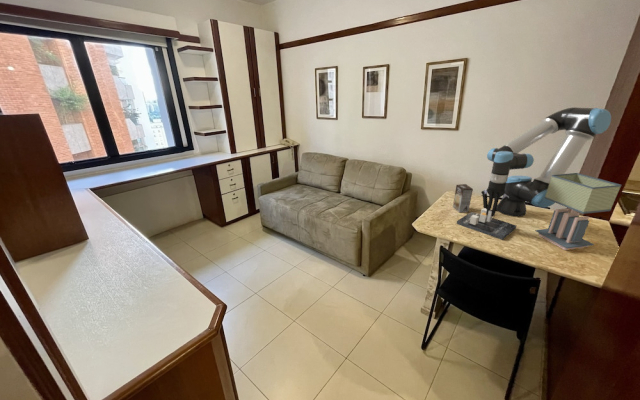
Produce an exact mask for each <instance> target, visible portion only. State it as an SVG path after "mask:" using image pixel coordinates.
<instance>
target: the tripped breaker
mask: <svg viewBox="0 0 640 400" xmlns="http://www.w3.org/2000/svg"><path fill="white" fill-rule="evenodd" d="M479 214H480V218H479V221H480V222H483V223H485V222H486V221H487V216H488V215H486V213H481V212H480V213H479Z"/></svg>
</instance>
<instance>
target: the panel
mask: <svg viewBox="0 0 640 400" xmlns="http://www.w3.org/2000/svg"><path fill="white" fill-rule="evenodd" d="M480 214H481V213H476V212H472V211H471V212H468V214H466V215H464V216H463V217H461V218H460V219H457V220H456V225H459V226H461V227H464V228H467V229H471V230H474V231H476V232H478V233H481V234H484V235H487V236H490V237H493V238H495V239H498V240H502V241H504V240H505V239H506V238H507V237H508V236H509V235H511V233H513V232H514V231H515V230H516V229H517V225H516V224H514V223H510V222H506V221H504V220H501V219H498V218H494V217H492V220H491V221H490V222H487V221H486V222H485V223H483V222H480V221H479V219H478V224H476V225H473V224H470V218H471V216H472V215H476V216H479V218H480Z"/></svg>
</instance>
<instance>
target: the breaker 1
mask: <svg viewBox="0 0 640 400" xmlns="http://www.w3.org/2000/svg"><path fill="white" fill-rule="evenodd" d="M478 219H479V216H476V215H472V216H471V218H470V224H473V225H476V224H478Z"/></svg>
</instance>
